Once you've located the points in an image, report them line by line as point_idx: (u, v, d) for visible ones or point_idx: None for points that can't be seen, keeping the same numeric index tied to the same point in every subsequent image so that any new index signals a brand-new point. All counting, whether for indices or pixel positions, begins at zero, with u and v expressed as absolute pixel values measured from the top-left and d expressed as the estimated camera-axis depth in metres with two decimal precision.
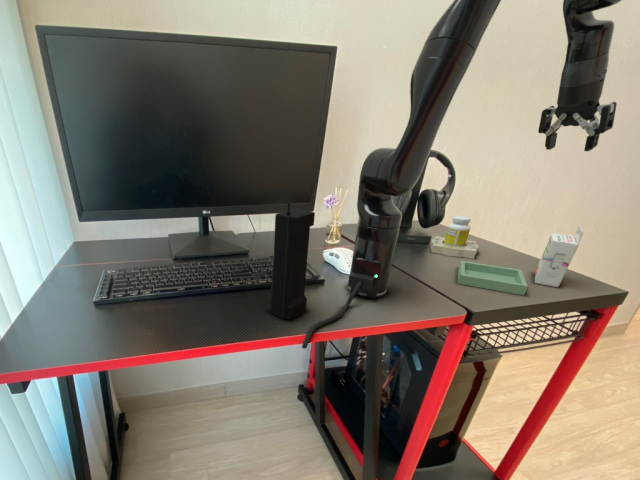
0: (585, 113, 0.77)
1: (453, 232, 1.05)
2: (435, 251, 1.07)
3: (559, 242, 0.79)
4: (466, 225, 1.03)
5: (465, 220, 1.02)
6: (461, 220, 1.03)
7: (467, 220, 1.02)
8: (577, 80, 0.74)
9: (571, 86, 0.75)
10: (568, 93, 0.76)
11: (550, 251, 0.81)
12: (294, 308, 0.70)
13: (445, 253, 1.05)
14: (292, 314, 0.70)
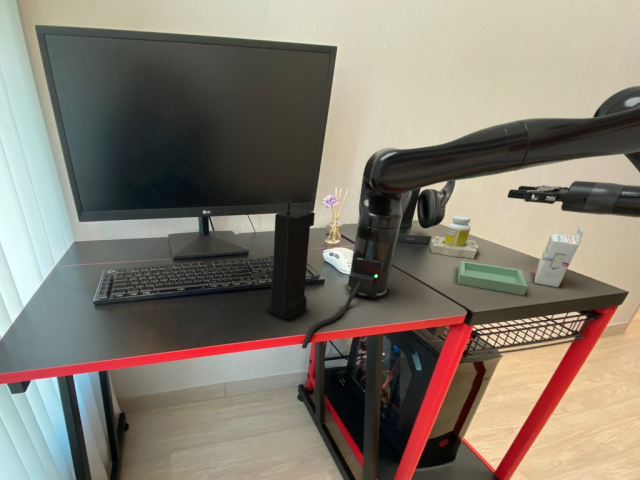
0: (553, 191, 0.84)
1: (453, 232, 1.05)
2: (435, 251, 1.07)
3: (559, 242, 0.79)
4: (466, 225, 1.03)
5: (465, 220, 1.02)
6: (461, 220, 1.03)
7: (467, 220, 1.02)
8: (602, 184, 0.78)
9: (597, 182, 0.79)
10: None
11: (550, 251, 0.81)
12: (294, 308, 0.70)
13: (445, 253, 1.05)
14: (292, 314, 0.70)
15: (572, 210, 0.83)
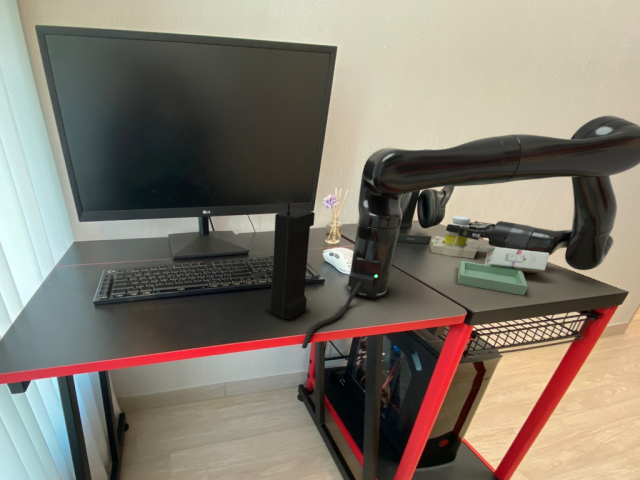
0: (481, 229, 0.99)
1: None
2: (435, 251, 1.07)
3: (493, 259, 0.88)
4: (466, 225, 1.03)
5: (465, 220, 1.02)
6: (461, 220, 1.03)
7: (467, 220, 1.02)
8: (518, 226, 0.93)
9: (515, 224, 0.94)
10: None
11: (503, 264, 0.87)
12: (294, 308, 0.70)
13: (445, 253, 1.05)
14: (292, 314, 0.70)
15: (496, 246, 0.98)
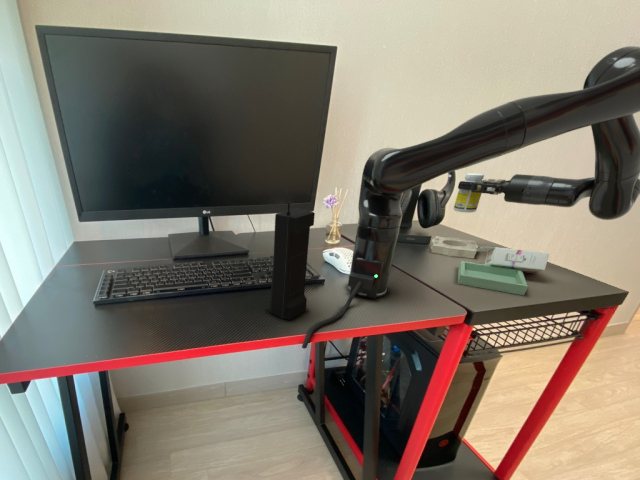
0: (496, 183, 0.93)
1: None
2: (435, 251, 1.07)
3: (492, 259, 0.88)
4: (479, 181, 0.97)
5: (478, 176, 0.96)
6: (474, 176, 0.97)
7: (481, 176, 0.96)
8: (537, 177, 0.87)
9: (534, 175, 0.88)
10: (527, 175, 0.89)
11: (503, 264, 0.87)
12: (294, 308, 0.70)
13: (445, 253, 1.05)
14: (292, 314, 0.70)
15: (513, 201, 0.91)
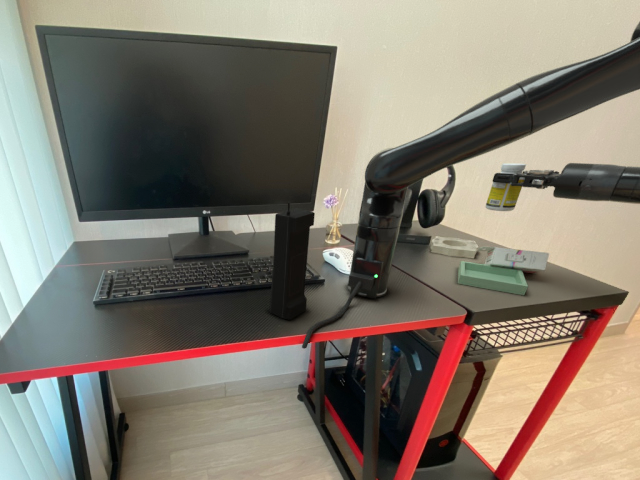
0: (543, 175, 0.74)
1: None
2: (435, 251, 1.07)
3: (492, 259, 0.88)
4: (520, 173, 0.79)
5: (519, 166, 0.78)
6: (514, 166, 0.78)
7: (522, 166, 0.78)
8: (600, 165, 0.68)
9: (594, 164, 0.69)
10: None
11: (503, 264, 0.87)
12: (294, 308, 0.70)
13: (445, 253, 1.05)
14: (292, 314, 0.70)
15: (565, 196, 0.73)
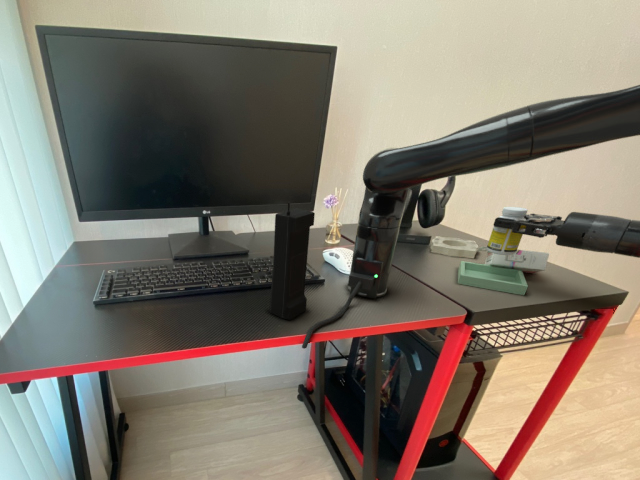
0: (546, 223, 0.73)
1: None
2: (435, 251, 1.07)
3: (492, 259, 0.88)
4: (522, 218, 0.77)
5: (521, 211, 0.76)
6: (515, 211, 0.77)
7: (524, 211, 0.76)
8: (604, 217, 0.67)
9: (598, 215, 0.68)
10: None
11: (503, 264, 0.87)
12: (294, 308, 0.70)
13: (445, 253, 1.05)
14: (292, 314, 0.70)
15: (568, 245, 0.71)
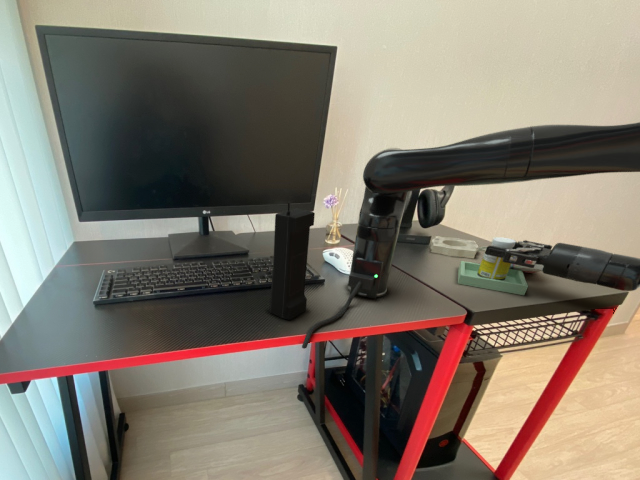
0: (534, 253, 0.76)
1: (492, 257, 0.82)
2: (435, 251, 1.07)
3: None
4: None
5: (509, 243, 0.80)
6: (504, 243, 0.80)
7: (512, 243, 0.80)
8: (587, 250, 0.70)
9: (582, 247, 0.71)
10: (574, 245, 0.72)
11: None
12: (294, 308, 0.70)
13: (445, 253, 1.05)
14: (292, 314, 0.70)
15: (554, 275, 0.75)
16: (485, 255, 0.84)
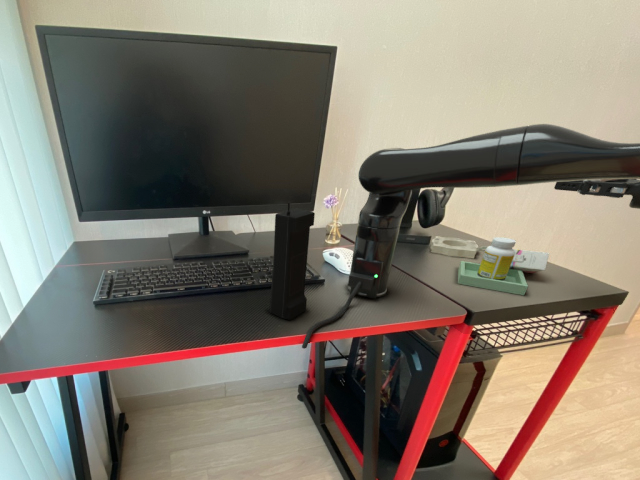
0: (621, 181, 0.63)
1: (492, 257, 0.82)
2: (435, 251, 1.07)
3: None
4: (510, 249, 0.81)
5: (509, 243, 0.80)
6: (504, 243, 0.80)
7: (512, 243, 0.80)
8: None
9: None
10: None
11: None
12: (294, 308, 0.70)
13: (445, 253, 1.05)
14: (292, 314, 0.70)
15: None
16: (485, 255, 0.84)
